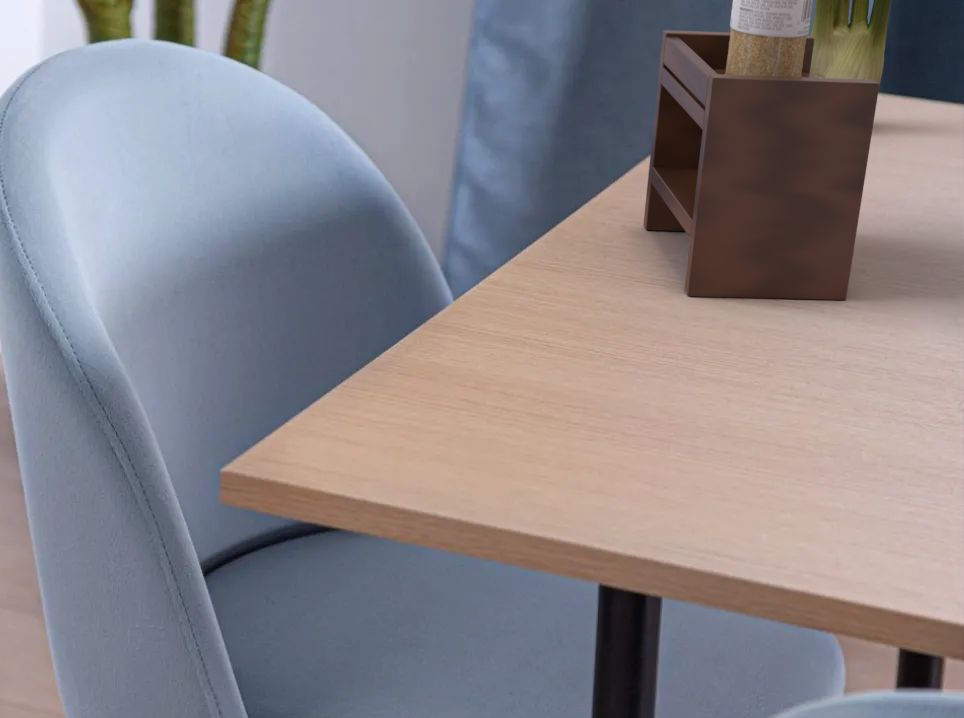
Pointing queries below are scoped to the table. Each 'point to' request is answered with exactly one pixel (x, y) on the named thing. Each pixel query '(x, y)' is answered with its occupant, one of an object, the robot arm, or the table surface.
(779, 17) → the spice jar
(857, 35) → the fennel bulb
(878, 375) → the table surface
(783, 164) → the rack
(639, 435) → the table surface
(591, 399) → the table surface
